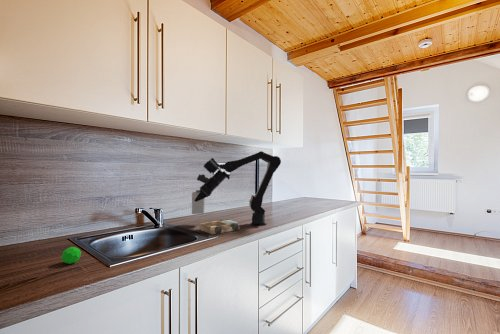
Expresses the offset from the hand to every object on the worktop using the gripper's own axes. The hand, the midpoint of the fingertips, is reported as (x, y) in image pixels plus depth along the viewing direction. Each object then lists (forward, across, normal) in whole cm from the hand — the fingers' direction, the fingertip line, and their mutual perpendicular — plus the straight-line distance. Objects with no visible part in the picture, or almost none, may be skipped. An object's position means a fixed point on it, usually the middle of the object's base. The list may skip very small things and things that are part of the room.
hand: (195, 200), depth 133 cm
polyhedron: (+33, +51, -14) cm, 62 cm away
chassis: (0, +10, +19) cm, 21 cm away
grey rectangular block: (+4, 0, +6) cm, 7 cm away
